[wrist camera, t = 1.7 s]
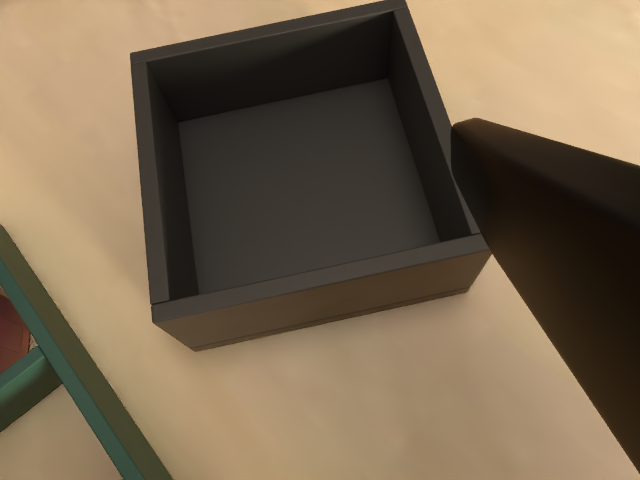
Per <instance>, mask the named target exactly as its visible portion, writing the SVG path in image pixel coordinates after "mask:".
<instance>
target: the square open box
mask: <svg viewBox="0 0 640 480" xmlns="http://www.w3.org/2000/svg"><path fill="white" fill-rule="evenodd" d="M130 61H131V74H132V86H133V99H134V111H135V123H136V135H137V147H138V159H139V171H140V183H141V195H142V207H143V219H144V231H145V243H146V255H147V267H148V279H149V291H150V303H151V305H152V306H151V311H152V322H153V323H154V324H155V325H157V326H158V327H160V328H161V329H163V330H164V331H165V332H167V333H168V334H170V335H171V336H173V337H174V338H176V339H177V340H179V341H180V342H182V343H183V344H184V345H186V346H187V347H189V348H190V349H192V350H193V351H201V350H205V349H210V348H214V347H219V346H223V345H228V344H232V343H237V342H241V341H246V340H251V339H255V338H260V337H264V336H269V335H273V334H278V333H282V332H287V331H292V330H296V329H301V328H305V327H310V326H314V325H319V324H323V323H328V322H333V321H337V320H342V319H346V318H351V317H355V316H360V315H364V314H369V313H374V312H378V311H383V310H387V309H392V308H396V307H401V306H405V305H410V304H415V303H419V302H424V301H428V300H433V299H437V298H442V297H446V296H451V295H456V294H460V293H465V292H467V291H468V290H469V288H470V286H471V285H472V284H473V282H474V281H475V279H476V278H477V276H478V275H479V273H480V272H481V270H482V268H483V267H484V265H485V264H486V262H487V261H488V259H489V258H490V256H491V255H492V252H491V251H490V249H489V247H488V245H487V244H486V242H485V240H484V238H483V236H482V234H481V232H480V230H479V228H478V226H477V224H476V222H475V220H474V218H473V216H472V214H471V212H470V210H469V208H468V206H467V204H466V202H465V200H464V198H463V196H462V194H461V192H460V190H459V188H458V186H457V184H456V182H455V180H454V177H453V174H452V170H451V140H450V133H451V128H452V126H451V123H450V120H449V118H448V115H447V112H446V109H445V107H444V104H443V101H442V98H441V96H440V93H439V90H438V88H437V85H436V82H435V79H434V77H433V74H432V71H431V68H430V66H429V63H428V60H427V58H426V55H425V52H424V49H423V47H422V44H421V41H420V38H419V36H418V33H417V30H416V28H415V25H414V22H413V19H412V17H411V14H410V11H409V9H408V6H407V3H406V1H405V0H384V1H379V2H374V3H369V4H365V5H360V6H355V7H350V8H345V9H340V10H336V11H331V12H326V13H321V14H316V15H311V16H307V17H302V18H297V19H292V20H287V21H283V22H278V23H273V24H268V25H263V26H258V27H254V28H249V29H244V30H239V31H234V32H229V33H225V34H220V35H215V36H210V37H205V38H200V39H196V40H191V41H186V42H181V43H176V44H171V45H167V46H162V47H157V48H152V49H147V50H142V51H138V52H133V53H130Z"/></svg>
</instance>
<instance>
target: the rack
mask: <svg viewBox="0 0 640 480" xmlns="http://www.w3.org/2000/svg"><path fill="white" fill-rule="evenodd" d="M0 285H1V287H2V288H3V290H4V292H5V293H6V295H7V296H8V298H9V299H10V301H11V303H12V304H13V306H14V307H15V309H16V310H17V312H18V314H19V315H20V317H21V318H22V320H23V321H24V323H25V325H26V326H27V328H28V329H29V331H30V332H31V334H32V336H33V337H34V339H35V340H36V342H37V344H38V345H39V346H36V347H35V348H34V349H32V350H31V351H30V352H28V353H27V354H26V355H24V356H23V357H22V358H20V359H19V360H18V361H17V362H15V363H14V364H13V365H11V366H10V367H9V368H7V369H6V370H5V371H3V372H2V373H1V374H0V432H1V431H2V430H3V429H5V428H6V427H7V426H8V425H10V424H11V423H12V422H13V421H15V420H16V419H17V418H18V417H20V416H21V415H22V414H24V413H25V412H26V411H27V410H29V409H30V408H31V407H32V406H34V405H35V404H36V403H37V402H39V401H40V400H41V399H43V398H44V397H45V396H46V395H48V394H49V393H50V392H51V391H53V390H54V389H55V388H56V387H58V386H59V385H60V384H62V383H63V384H64V386H65V388H66V389H67V391H68V392H69V394H70V395H71V397H72V399H73V400H74V402H75V403H76V405H77V406H78V408H79V410H80V411H81V413H82V414H83V416H84V417H85V419H86V421H87V422H88V424H89V425H90V427H91V428H92V430H93V432H94V433H95V435H96V436H97V438H98V439H99V441H100V443H101V444H102V446H103V447H104V449H105V450H106V452H107V454H108V455H109V457H110V458H111V460H112V461H113V463H114V465H115V466H116V468H117V469H118V471H119V472H120V474H121V476H122V477H123V479H124V480H173V479H172V477H171V476H170V474H169V473H168V471H167V470H166V468H165V467H164V465H163V464H162V462H161V461H160V459H159V458H158V456H157V455H156V453H155V452H154V450H153V449H152V447H151V446H150V445H149V443H148V442H147V440H146V439H145V437H144V436H143V434H142V433H141V431H140V430H139V428H138V427H137V425H136V424H135V422H134V421H133V419H132V418H131V416H130V415H129V413H128V412H127V410H126V409H125V407H124V406H123V404H122V403H121V401H120V400H119V398H118V397H117V395H116V394H115V392H114V391H113V389H112V388H111V387H110V385H109V384H108V382H107V381H106V379H105V378H104V376H103V375H102V373H101V372H100V370H99V369H98V367H97V366H96V364H95V363H94V361H93V360H92V358H91V357H90V355H89V354H88V352H87V351H86V349H85V348H84V346H83V345H82V343H81V342H80V340H79V339H78V337H77V336H76V334H75V333H74V331H73V330H72V329H71V327H70V326H69V324H68V323H67V321H66V320H65V318H64V317H63V315H62V314H61V312H60V311H59V309H58V308H57V306H56V305H55V303H54V302H53V300H52V299H51V297H50V296H49V294H48V293H47V291H46V290H45V288H44V287H43V285H42V284H41V282H40V281H39V279H38V278H37V276H36V275H35V273H34V272H33V271H32V269H31V268H30V266H29V265H28V263H27V262H26V260H25V259H24V257H23V256H22V254H21V253H20V251H19V250H18V248H17V247H16V245H15V244H14V242H13V241H12V239H11V238H10V236H9V235H8V233H7V232H6V230H5V229H4V227H3V226H2V225H0Z"/></svg>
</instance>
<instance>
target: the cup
mask: <svg viewBox="0 0 640 480" xmlns="http://www.w3.org/2000/svg"><path fill="white" fill-rule="evenodd" d="M29 336H30V332H29V329H28V328H27V326H26V325H25V323H24V321H23V320H22V318H21V317H20V315H19V314H18V312H17V310H16V309H15V307H14V306H13V304H12V303H11V301H10V299H9V298H8V296H7V295H6V293H5V292H4V290H3V289H1V288H0V374H1V373H2V372H3V371H5V370H6V369H7V368H9V367H10V366H11V365H13V364H14V363H15V362H17V361H18V360H19V359H20V358H22V357H23V356H24V355H26V354H27V352H28V347H29Z"/></svg>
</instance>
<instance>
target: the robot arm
mask: <svg viewBox="0 0 640 480" xmlns="http://www.w3.org/2000/svg"><path fill="white" fill-rule="evenodd" d="M450 140H451V170H452V174H453V177H454V180H455V182H456V184H457V186H458V188H459V190H460V192H461V194H462V196H463V198H464V200H465V202H466V204H467V206H468V208H469V210H470V212H471V214H472V216H473V218H474V220H475V222H476V224H477V226H478V228H479V230H480V232H481V234H482V236H483V238H484V240H485V242H486V244H487V245H488V247H489V249H490V251H491V252H492V254H493V255H494V257H495V259H496V260H497V262H498V263H499V265H500V266H501V268H502V269H503V270H504V272H505V273H506V275H507V276H508V278H509V279H510V281H511V282H512V284H513V285H514V287H515V288H516V290H517V291H518V293H519V294H520V296H521V297H522V299H523V300H524V302H525V303H526V305H527V306H528V308H529V309H530V311H531V312H532V314H533V315H534V317H535V318H536V320H537V321H538V323H539V324H540V326H541V327H542V329H543V330H544V332H545V333H546V335H547V336H548V338H549V339H550V341H551V342H552V344H553V345H554V347H555V348H556V350H557V351H558V353H559V354H560V356H561V357H562V359H563V360H564V361H565V363H566V364H567V366H568V367H569V369H570V370H571V372H572V373H573V375H574V376H575V378H576V379H577V381H578V382H579V384H580V385H581V387H582V388H583V390H584V391H585V393H586V394H587V396H588V397H589V399H590V400H591V402H592V403H593V405H594V406H595V408H596V409H597V411H598V412H599V414H600V415H601V417H602V418H603V420H604V421H605V423H606V424H607V426H608V427H609V429H610V430H611V432H612V433H613V435H614V436H615V438H616V439H617V441H618V442H619V444H620V445H621V447H622V448H623V450H624V451H625V453H626V454H627V455H628V457H629V458H630V460H631V461H632V463H633V464H634V466H635V467H636V469H637V470H638V472H639V473H640V166H639V165H635V164H632V163H629V162H625V161H622V160H618V159H615V158H612V157H608V156H605V155H601V154H598V153H595V152H591V151H588V150H585V149H581V148H578V147H574V146H571V145H568V144H564V143H561V142H557V141H554V140H551V139H547V138H544V137H540V136H537V135H534V134H530V133H527V132H523V131H520V130H517V129H513V128H510V127H507V126H503V125H500V124H496V123H493V122H490V121H486V120H483V119H479V118H472V119H469V120H465V121H462V122H458V123H455V124H454V125H453V126H452V128H451V133H450Z"/></svg>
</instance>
